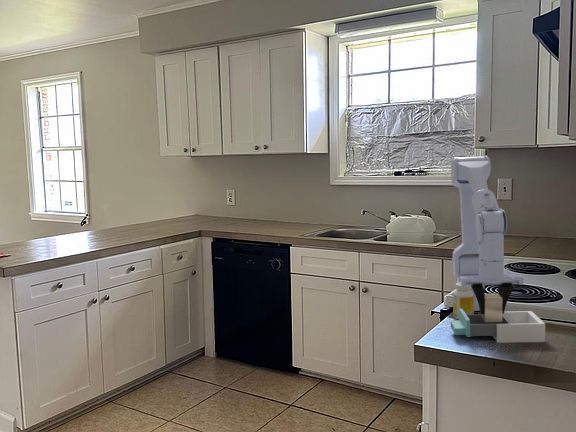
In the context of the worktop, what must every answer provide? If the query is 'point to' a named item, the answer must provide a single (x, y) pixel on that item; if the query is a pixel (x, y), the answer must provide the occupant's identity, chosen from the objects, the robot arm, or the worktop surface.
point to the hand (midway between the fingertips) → (491, 312)
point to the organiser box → (521, 328)
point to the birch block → (492, 308)
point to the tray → (475, 325)
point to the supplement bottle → (463, 300)
